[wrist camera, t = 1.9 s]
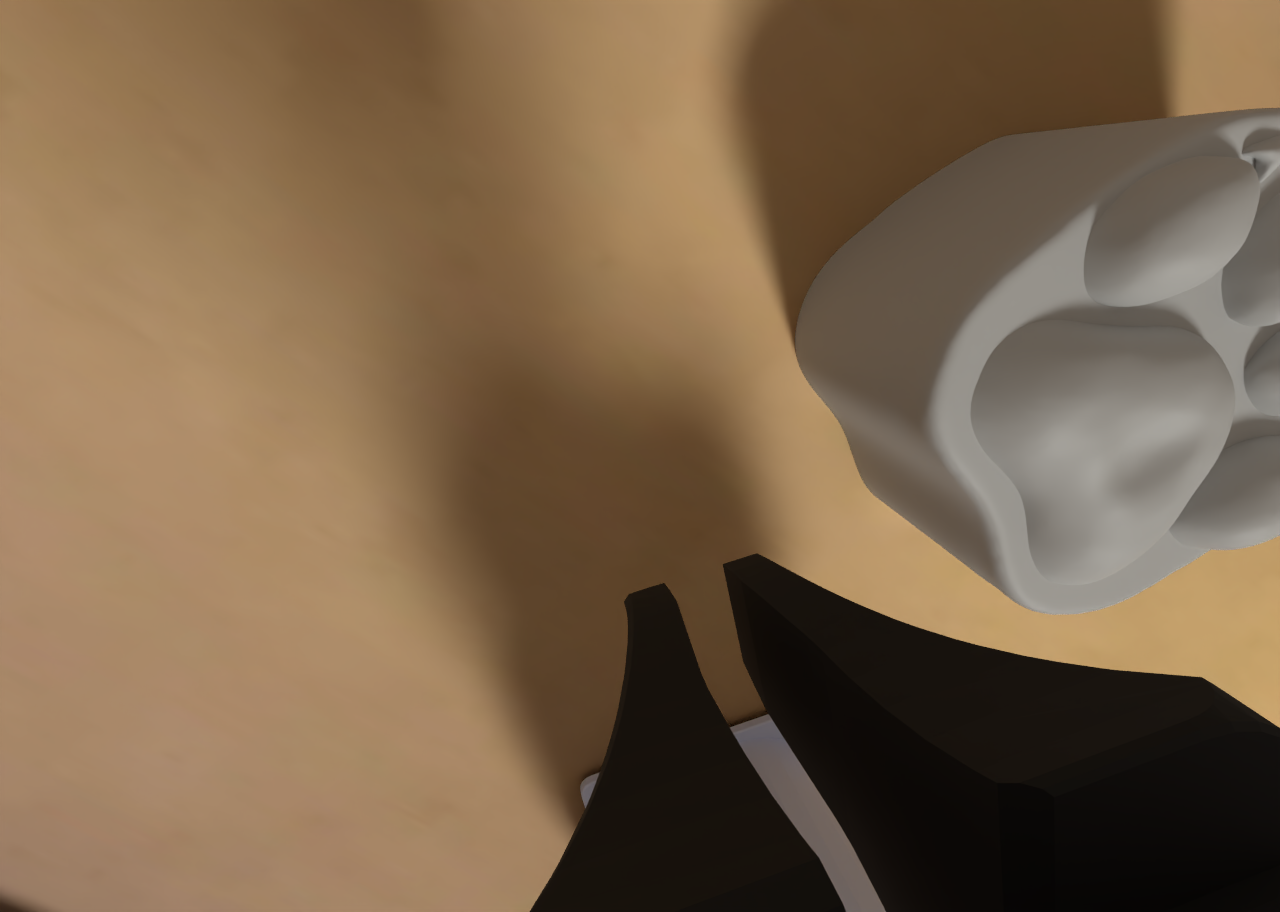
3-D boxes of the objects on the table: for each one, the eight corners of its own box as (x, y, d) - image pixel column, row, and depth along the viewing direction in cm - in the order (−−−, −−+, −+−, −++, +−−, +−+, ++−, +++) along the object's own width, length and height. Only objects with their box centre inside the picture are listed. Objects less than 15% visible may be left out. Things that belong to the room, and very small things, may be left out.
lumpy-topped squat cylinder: (758, 294, 21) (926, 354, 14) (1127, 38, 21) (1519, -54, 13) (897, 544, 26) (1089, 703, 18) (1207, 331, 25) (1544, 394, 17)
